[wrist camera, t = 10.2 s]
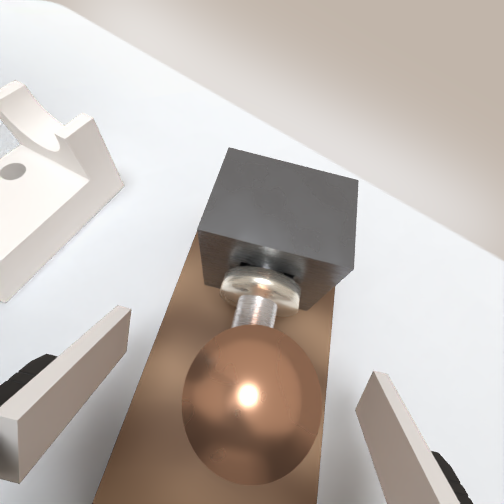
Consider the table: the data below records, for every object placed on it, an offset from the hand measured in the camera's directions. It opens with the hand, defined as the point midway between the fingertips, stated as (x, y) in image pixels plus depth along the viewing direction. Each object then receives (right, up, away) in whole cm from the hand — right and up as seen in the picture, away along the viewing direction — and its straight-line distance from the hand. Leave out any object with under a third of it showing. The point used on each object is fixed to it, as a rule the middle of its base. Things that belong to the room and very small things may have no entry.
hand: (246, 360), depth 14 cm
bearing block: (+1, +5, +8) cm, 9 cm away
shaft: (+1, +2, +6) cm, 6 cm away
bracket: (-18, +8, +9) cm, 22 cm away
